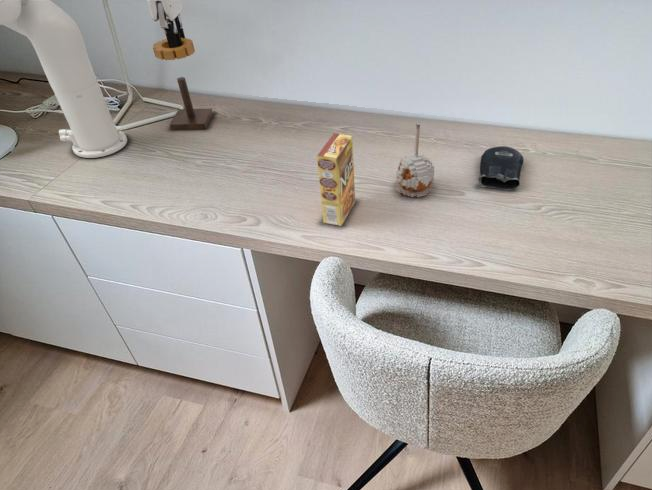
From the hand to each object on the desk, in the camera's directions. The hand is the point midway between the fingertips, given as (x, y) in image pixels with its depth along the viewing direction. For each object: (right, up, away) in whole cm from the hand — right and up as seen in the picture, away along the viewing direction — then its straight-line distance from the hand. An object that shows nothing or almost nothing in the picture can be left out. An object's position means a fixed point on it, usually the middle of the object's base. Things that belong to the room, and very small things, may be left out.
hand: (178, 47), depth 121 cm
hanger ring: (0, -2, -2) cm, 3 cm away
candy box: (+41, -44, -21) cm, 63 cm away
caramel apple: (+57, -38, -15) cm, 70 cm away
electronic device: (+77, -33, -10) cm, 84 cm away
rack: (0, -15, +10) cm, 18 cm away
